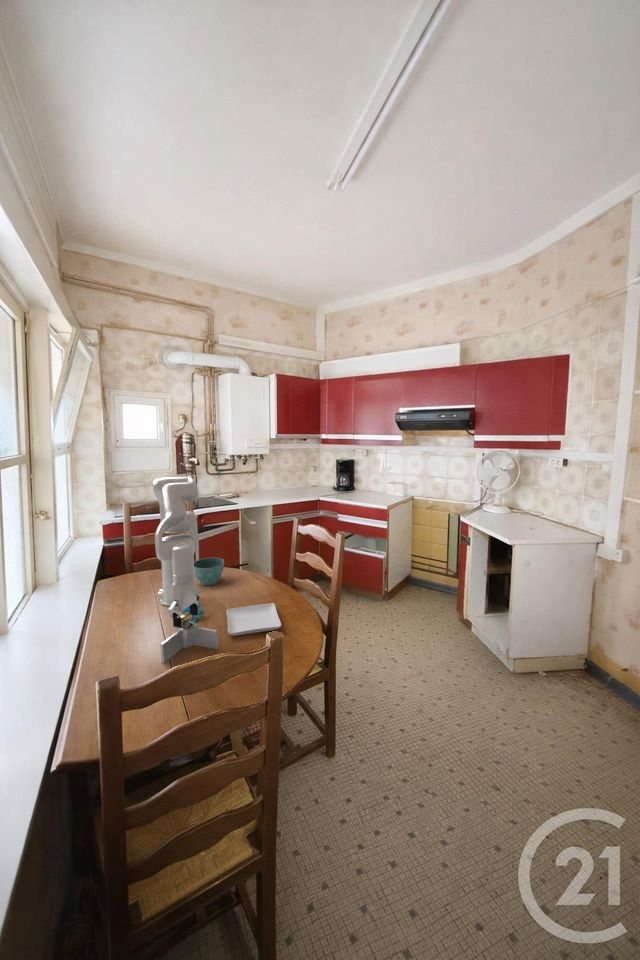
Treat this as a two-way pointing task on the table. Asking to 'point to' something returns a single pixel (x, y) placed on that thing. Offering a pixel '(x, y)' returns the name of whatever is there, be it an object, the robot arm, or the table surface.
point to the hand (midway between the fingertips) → (186, 620)
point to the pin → (185, 619)
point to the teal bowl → (208, 570)
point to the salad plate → (252, 619)
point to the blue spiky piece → (194, 615)
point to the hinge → (188, 640)
